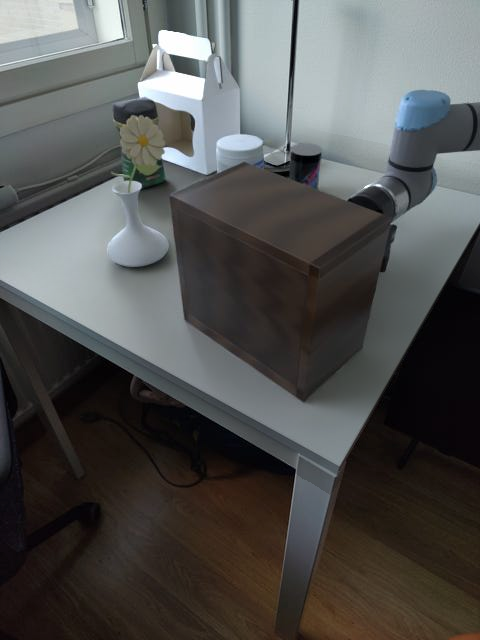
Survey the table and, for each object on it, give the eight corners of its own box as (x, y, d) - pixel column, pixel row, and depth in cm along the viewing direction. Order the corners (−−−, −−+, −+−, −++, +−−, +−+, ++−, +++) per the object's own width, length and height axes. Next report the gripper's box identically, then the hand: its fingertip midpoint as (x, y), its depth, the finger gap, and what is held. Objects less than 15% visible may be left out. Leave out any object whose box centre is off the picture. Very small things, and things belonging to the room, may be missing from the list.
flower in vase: (117, 279, 82) (84, 136, 65) (102, 247, 89) (69, 113, 73) (186, 261, 86) (171, 122, 69) (167, 232, 94) (149, 101, 77)
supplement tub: (264, 220, 97) (266, 150, 87) (219, 222, 96) (216, 152, 87) (261, 199, 104) (262, 132, 94) (219, 200, 104) (215, 133, 94)
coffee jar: (135, 193, 107) (120, 109, 94) (119, 181, 111) (104, 100, 99) (171, 181, 111) (161, 99, 99) (154, 171, 116) (143, 91, 104)
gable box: (241, 159, 121) (240, 35, 102) (207, 175, 113) (199, 45, 95) (181, 139, 132) (170, 24, 113) (146, 154, 124) (129, 33, 106)
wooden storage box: (362, 348, 68) (392, 217, 54) (303, 402, 61) (320, 268, 46) (244, 281, 81) (244, 161, 67) (184, 320, 73) (168, 194, 59)
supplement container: (289, 202, 103) (292, 155, 96) (286, 188, 108) (288, 143, 101) (319, 201, 103) (324, 155, 96) (315, 187, 108) (319, 143, 101)
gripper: (439, 254, 73) (366, 319, 62) (313, 204, 86) (233, 250, 75) (453, 211, 68) (377, 273, 57) (317, 165, 81) (232, 208, 70)
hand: (295, 260), depth 66 cm, fingers open, 13 cm apart
